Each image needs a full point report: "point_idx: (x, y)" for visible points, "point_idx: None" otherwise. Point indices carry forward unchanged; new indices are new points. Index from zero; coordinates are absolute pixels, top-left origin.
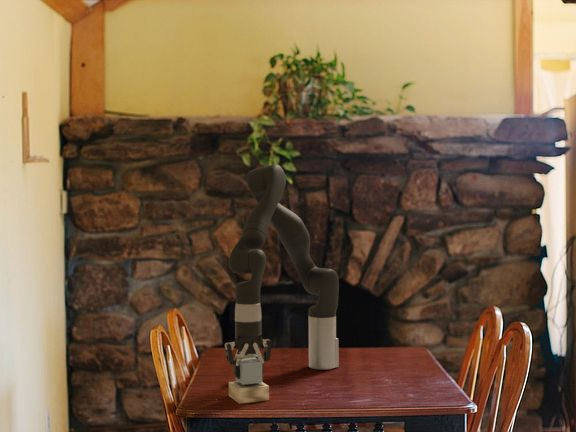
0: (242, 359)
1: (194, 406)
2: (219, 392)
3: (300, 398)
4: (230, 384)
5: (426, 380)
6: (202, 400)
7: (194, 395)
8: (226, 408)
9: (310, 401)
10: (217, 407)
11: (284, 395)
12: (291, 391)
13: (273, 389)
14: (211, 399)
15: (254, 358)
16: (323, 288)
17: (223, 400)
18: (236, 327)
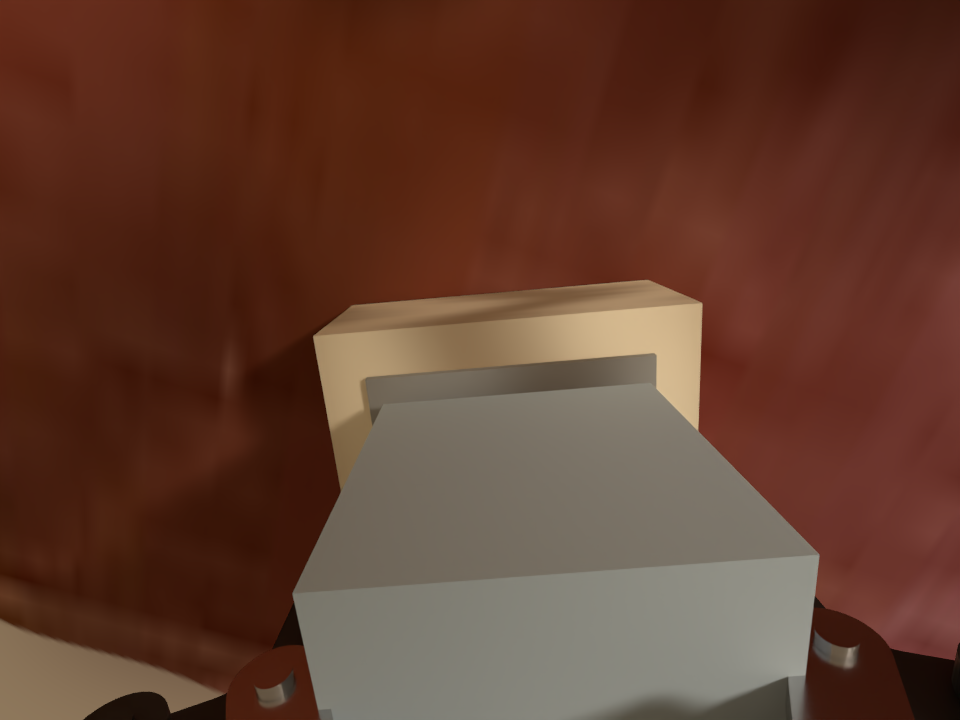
0: (456, 654)
1: (35, 522)
2: (280, 136)
3: (893, 563)
4: (328, 392)
5: None
6: (99, 375)
7: (16, 171)
8: (278, 635)
9: (913, 651)
10: (214, 595)
11: (824, 445)
12: (950, 340)
13: (836, 207)
14: (181, 369)
15: (757, 646)
16: None
17: (283, 431)
18: None
